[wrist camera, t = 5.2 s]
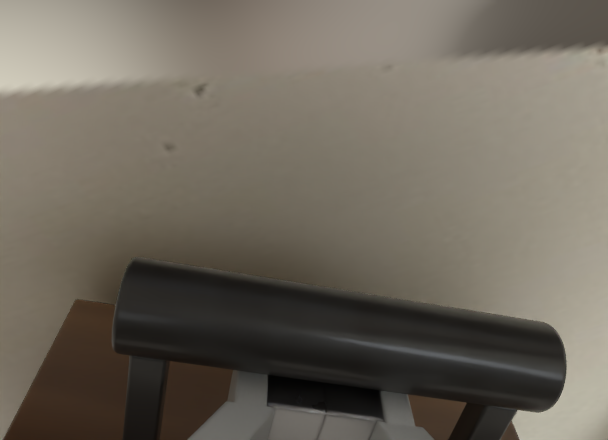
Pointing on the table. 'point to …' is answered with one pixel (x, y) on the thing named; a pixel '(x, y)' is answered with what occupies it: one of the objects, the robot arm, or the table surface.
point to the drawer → (278, 356)
